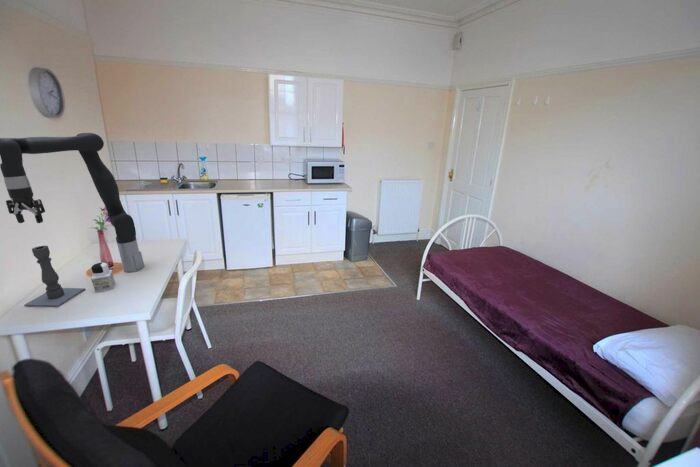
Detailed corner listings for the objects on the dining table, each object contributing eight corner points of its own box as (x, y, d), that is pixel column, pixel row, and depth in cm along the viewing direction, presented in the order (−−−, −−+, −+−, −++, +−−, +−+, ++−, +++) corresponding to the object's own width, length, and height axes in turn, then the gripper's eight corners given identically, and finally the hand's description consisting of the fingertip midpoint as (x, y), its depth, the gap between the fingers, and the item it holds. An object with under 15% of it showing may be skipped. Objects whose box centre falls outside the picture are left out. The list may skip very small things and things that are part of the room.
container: (94, 292, 165) (87, 268, 161) (97, 285, 172) (90, 262, 168) (113, 288, 169) (107, 265, 164) (115, 282, 175) (109, 260, 171)
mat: (85, 290, 168) (85, 288, 167) (58, 307, 153) (57, 305, 152) (55, 289, 168) (54, 287, 168) (24, 306, 153) (24, 304, 153)
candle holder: (54, 299, 157) (38, 250, 149) (44, 298, 158) (27, 249, 150) (67, 293, 163) (52, 245, 154) (57, 292, 164) (41, 244, 156)
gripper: (42, 184, 146) (53, 220, 151) (11, 184, 146) (23, 220, 152) (26, 188, 139) (38, 225, 144) (-7, 188, 139) (7, 225, 145)
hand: (30, 222), depth 148 cm, fingers open, 8 cm apart
